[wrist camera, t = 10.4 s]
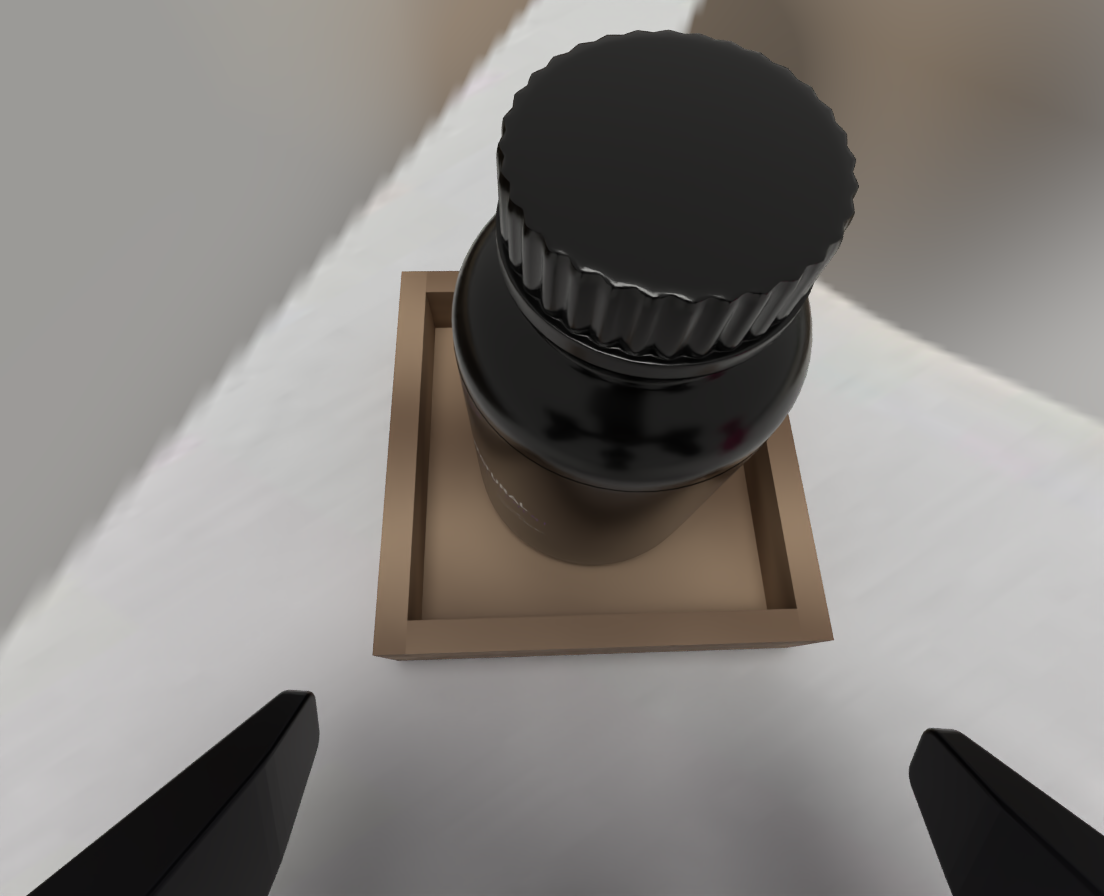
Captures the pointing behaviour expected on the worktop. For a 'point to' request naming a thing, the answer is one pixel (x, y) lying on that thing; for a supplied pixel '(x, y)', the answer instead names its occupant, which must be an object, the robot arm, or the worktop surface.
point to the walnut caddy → (557, 586)
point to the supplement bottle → (644, 285)
